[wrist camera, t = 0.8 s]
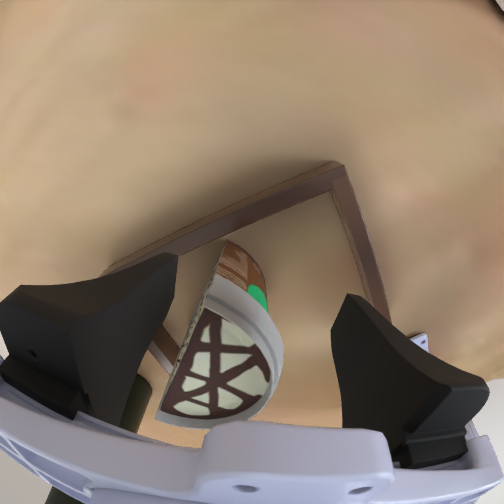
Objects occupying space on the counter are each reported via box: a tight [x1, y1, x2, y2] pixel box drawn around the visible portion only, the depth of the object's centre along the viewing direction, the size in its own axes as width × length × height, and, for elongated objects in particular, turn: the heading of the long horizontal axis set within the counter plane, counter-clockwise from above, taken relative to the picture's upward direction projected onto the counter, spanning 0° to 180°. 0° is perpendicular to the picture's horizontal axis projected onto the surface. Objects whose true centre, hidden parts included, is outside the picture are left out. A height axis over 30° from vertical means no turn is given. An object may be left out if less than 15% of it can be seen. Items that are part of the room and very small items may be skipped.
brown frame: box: [98, 161, 392, 375], centre depth 23 cm, size 15×20×2 cm
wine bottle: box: [45, 374, 152, 504], centre depth 17 cm, size 6×6×30 cm
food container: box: [155, 240, 284, 430], centre depth 20 cm, size 12×6×10 cm, turn 156°
